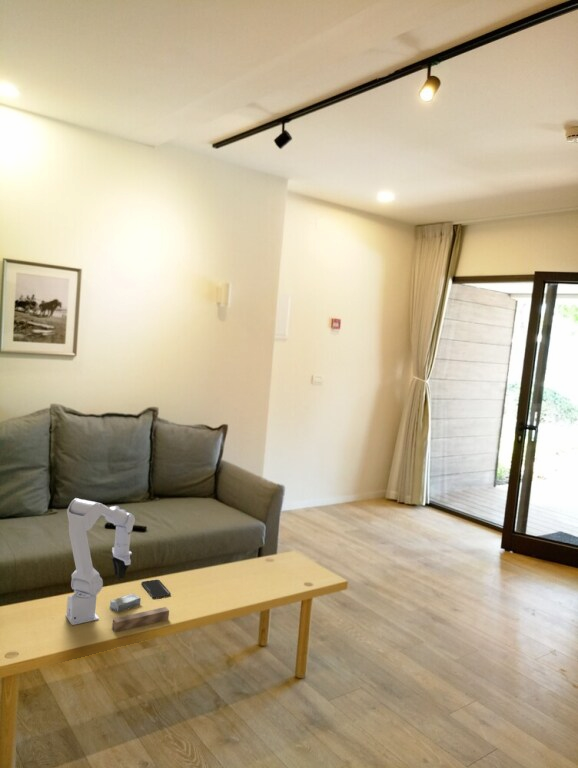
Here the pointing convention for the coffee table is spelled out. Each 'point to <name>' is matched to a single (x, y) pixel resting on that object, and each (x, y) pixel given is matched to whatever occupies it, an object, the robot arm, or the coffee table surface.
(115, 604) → the plate block
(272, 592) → the coffee table surface
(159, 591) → the phone
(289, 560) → the coffee table surface
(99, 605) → the coffee table surface
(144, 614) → the walnut bar
